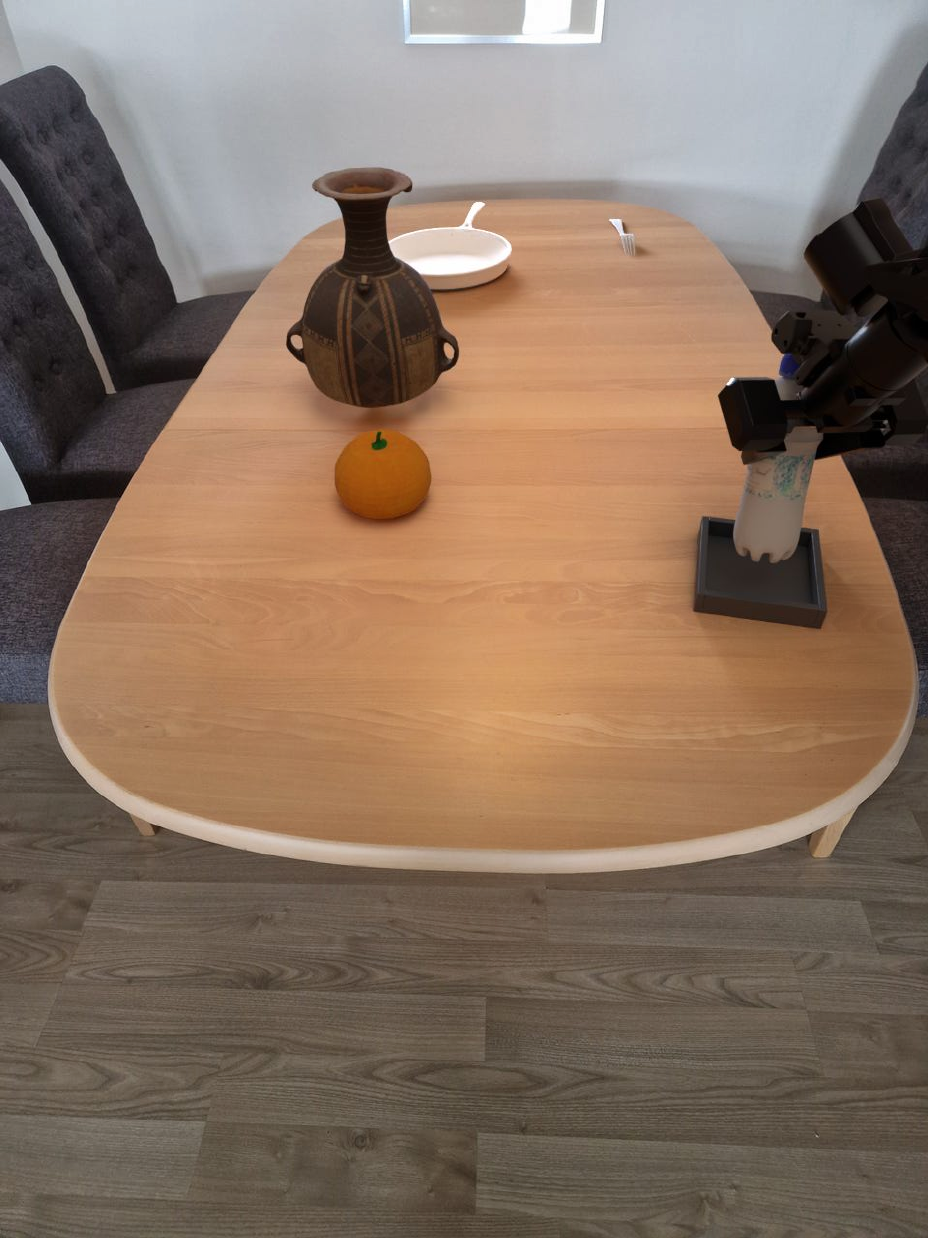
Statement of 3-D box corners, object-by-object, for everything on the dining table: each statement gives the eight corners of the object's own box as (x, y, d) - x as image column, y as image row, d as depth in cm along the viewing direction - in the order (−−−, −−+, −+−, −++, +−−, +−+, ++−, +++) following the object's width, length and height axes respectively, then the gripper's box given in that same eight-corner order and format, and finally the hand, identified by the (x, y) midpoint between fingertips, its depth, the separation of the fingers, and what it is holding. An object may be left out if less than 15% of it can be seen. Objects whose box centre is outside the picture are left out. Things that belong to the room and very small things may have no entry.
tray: (812, 546, 91) (818, 529, 89) (821, 629, 82) (827, 611, 80) (698, 533, 94) (702, 515, 92) (693, 611, 84) (697, 593, 82)
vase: (279, 421, 115) (230, 193, 94) (348, 363, 128) (319, 150, 107) (422, 454, 108) (403, 214, 87) (481, 389, 120) (477, 165, 99)
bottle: (715, 544, 85) (751, 345, 76) (774, 541, 86) (815, 345, 77) (748, 569, 79) (790, 356, 70) (809, 565, 80) (859, 356, 71)
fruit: (447, 484, 102) (443, 413, 96) (411, 538, 95) (404, 465, 88) (363, 469, 106) (353, 399, 99) (322, 520, 98) (308, 448, 91)
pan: (362, 289, 149) (359, 263, 146) (425, 221, 175) (424, 198, 172) (493, 299, 144) (493, 273, 140) (538, 228, 170) (538, 205, 167)
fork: (619, 231, 174) (620, 217, 172) (637, 255, 157) (639, 240, 155) (606, 232, 174) (607, 218, 172) (623, 256, 157) (624, 240, 155)
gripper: (943, 280, 69) (831, 387, 84) (750, 276, 65) (667, 390, 80) (987, 391, 66) (863, 483, 80) (787, 395, 62) (694, 491, 76)
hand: (773, 459), depth 79 cm, fingers closed on bottle, 6 cm apart
